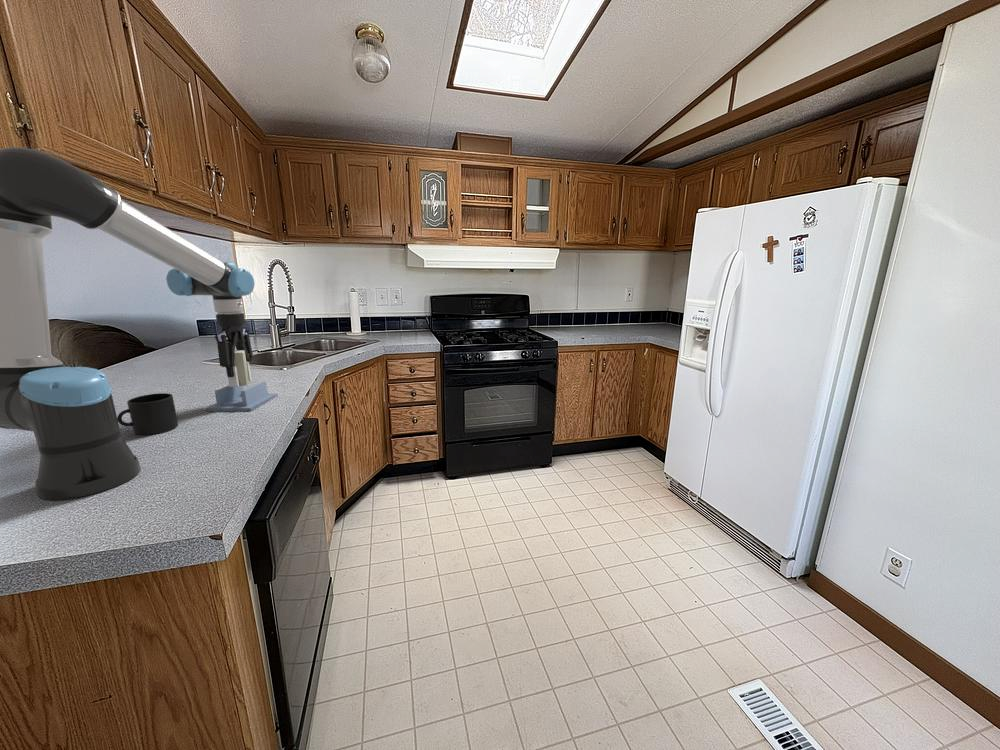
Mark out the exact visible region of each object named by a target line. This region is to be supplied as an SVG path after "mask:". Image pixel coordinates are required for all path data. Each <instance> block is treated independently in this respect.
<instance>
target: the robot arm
mask: <svg viewBox="0 0 1000 750" xmlns="http://www.w3.org/2000/svg"><path fill="white" fill-rule="evenodd" d="M52 217H56V218H60V219H64V220H68V221H70V222H73V223H76V224H78V225H80V226H82V227H84V228H86V229H87V230H88V229H89V230H100V231H102V232H104V233H106V234H108V235H110V236H112V237H114V238H116V239H118V240H120V241H122V242H123V243H125V244H127V245H129V246H131V247H133V248H134V249H137V250H138V251H141V252H143V253H144V254H146V255H148V256H151V257H152V258H153V259H155V260H158V261H160V262H162V263H163V264H165V265H167V266H169V267H171V268H172V269H169V270H168V272H167V274H166V277H165V278H166V279H165V280H166V284H167V287H168V289H169V290H170V291H171V293H172V294H174V295H176V296H182V297H183V296H185V297H191V296H212V302H213V308H214V312H215V313H216V314H215V319H216V325H217V326H218V327H221V333H220V334H215V336H214V338H215V341H216V344H217V352H218V361H219V366H220V367H221V368H225V371H226V376H227V380H228V385H229V387H238V386H239V381H238V374H237V368H236V366H234V356H235V350H244V351H245V356H246V364H247V371H248V378H249V382H252V381H253V379H252V373H251V367H250V362H253V358H254V355H253V350H252V344H251V339H250V338H251V337H250V329H245V328H243V326H245V325H246V319H245V314H244V313H243V312H244V306H243V300H242V297H244V296H245V297H246V296H248V295H251V293H252V292H254V289H255V284H256V282H255V278H254V277H253V274H252V273H251V272H250V271H249V270H247V269H246V268H242V267H241V268H239V267H237V265H236V264H235V263H234V262H227V261H221V260H219V258H216V257H214V255H211V254H210V253H208V252H207V251H205V250H203V249H202V248H201V247H198V246H197V245H195V244H193V243H192V242H190V241H189V240H187V239H186V238H184V237H182V236H181V235H179V234H178V233H176V232H174V231H173V230H171V229H170V228H168V227H166V226H164V225H163V224H161V223H159V222H158V221H157V220H155V219H154V218H151V216H148V215H146V214H145V213H144V212H142V211H141V210H138V209H137V208H135V207H134V206H132V205H130V204H129V203H127V202H126V201H124V200H122V199H121V195H120V193H119V191H117V190H116V189H115V188H113V187H110V186H109V185H107V184H106V183H104V182H103V181H101V180H100V179H98V178H96V177H95V176H93V175H91V174H89V173H88V172H86V171H84V170H83V169H80V168H79V167H76V166H75V165H73V164H72V163H70V162H67V161H66V160H63V159H61V158H58V157H57V156H54V155H53V154H49V153H46V152H44V151H41V150H37V149H32V148H28V147H22V146H21V147H20V146H19V147H18V146H13V147H12V146H11V147H10V146H9V147H4V148H0V428H1V429H5V430H6V429H7V430H20V431H27V432H28V431H29V432H33V435H34V438H35V441H36V444H37V448H38V451H39V454H40V457H39V464H38V465H39V466H38V473H37V474H38V475H37V478H36V481H35V483H34V485H35V490H36V493H37V496H38V497H39V498H40V499H43V500H48V501H49V500H50V501H59V500H69V499H76V498H81V497H85V496H89V495H94V494H97V493H98V494H99V493H101V492H103V491H104V492H105V491H107V490H110V489H113V488H115V487H118V486H120V485H122V484H124V483H126V482H128V481H130V480H132V479H133V478H135V477H136V476H137V475H138V474H140V472H141V464H140V461H139V458H138V456H136V455H134V453H133V451H132V450H131V448H130V447H129V445H128V444H127V442H126V441H125V440H124V439H123V435H122V433H121V429H120V423H119V422H118V419H117V418H118V415H117V411H116V407H115V403H114V398H113V395H112V391H113V390H112V386H111V385H110V382H109V380H108V377H107V375H106V374H105V373H104V372H103V371H101V370H99V369H97V368H93V367H86V366H74V367H73V366H72V367H71V366H64V363H63V361H61V360H59V358H57V357H55V356H54V355H53V354H52V343H51V334H50V320H49V310H48V309H49V308H48V296H47V295H48V294H47V285H46V273H45V270H46V269H45V262H44V261H45V257H44V249H43V239H44V238H45V237H46V236H48V235H50V234H51V233H53V223H52Z"/></svg>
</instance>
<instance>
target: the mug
mask: <svg viewBox="0 0 1000 750" xmlns="http://www.w3.org/2000/svg"><path fill="white" fill-rule="evenodd" d="M126 402H127V403H126V404H127V407H128V408H127V409H124V410H122V411H121V412H119V414H118V415H117V419H118V423H119V425H121V426H123V427H132V429H133V430H132V431H133V433H134V434H135V435H139V436H150V435H151V436H152V435H159V434H162V433H167V432H169V431H171V430H174V429H175V428H177V427H178V426H179V421H178V416H177V411H176V407H175V401H174V396H173V394H171V393H167V392H165V393H164V392H162V393H150V394H145V395H144V394H143V395H140V396H136V397H133V398H130V399H128V400H127V401H126ZM127 413H128V414H129V416H130V422H125V421H124V420H123V417H124V415H125V414H127Z"/></svg>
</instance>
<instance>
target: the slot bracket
mask: <svg viewBox="0 0 1000 750" xmlns="http://www.w3.org/2000/svg"><path fill="white" fill-rule="evenodd" d="M214 394H215V399H216V400H215V401H216V403H214V404H212V405H210V406H207V407H205V412H252V411H254V410H256V409H257V408H259V407H262V406H264V405H265V404H267V403H268V402H270V401H272V400H274V399H276V398H277V397H279V395H278V393H268V387H267V381H266V380H265V381H264V380H262V381H260V382H258V383H256V384H253V385H251V386H249V387H247V388H245V389H244V386H238V387H229V384H227V385H226V386H224V387H221V388H218V389H216V390H214ZM276 396H277V397H276ZM275 397H276V398H275ZM273 398H274V399H273ZM271 399H272V400H271ZM266 402H267V403H266Z"/></svg>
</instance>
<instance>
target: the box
mask: <svg viewBox="0 0 1000 750" xmlns="http://www.w3.org/2000/svg"><path fill="white" fill-rule="evenodd" d="M234 366H236V368H237V374H238V381H239V386H243V387H245V386H248V385H249V382H250V381H249V378H248V371H247V364H246V356H245V351H244V350H237V349H235V356H234Z"/></svg>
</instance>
